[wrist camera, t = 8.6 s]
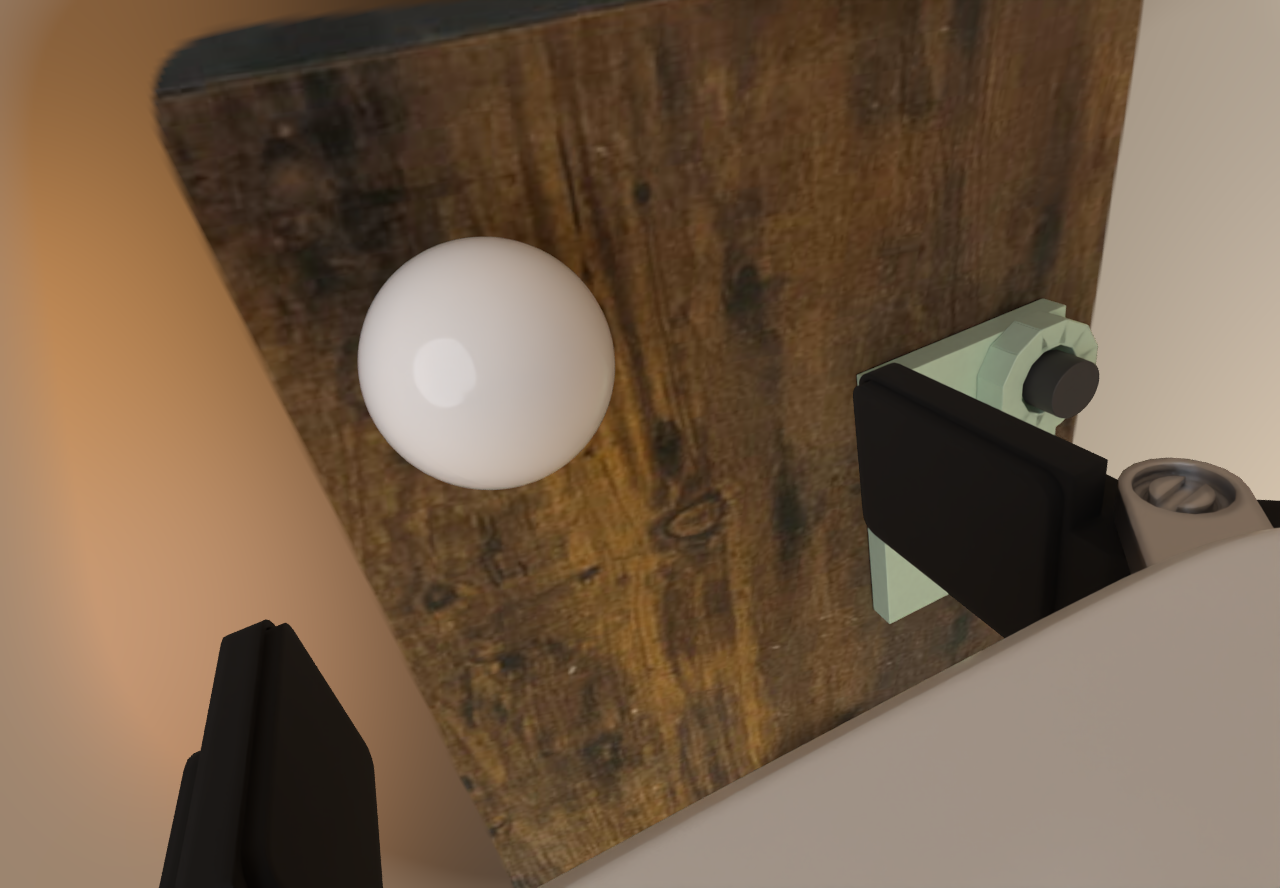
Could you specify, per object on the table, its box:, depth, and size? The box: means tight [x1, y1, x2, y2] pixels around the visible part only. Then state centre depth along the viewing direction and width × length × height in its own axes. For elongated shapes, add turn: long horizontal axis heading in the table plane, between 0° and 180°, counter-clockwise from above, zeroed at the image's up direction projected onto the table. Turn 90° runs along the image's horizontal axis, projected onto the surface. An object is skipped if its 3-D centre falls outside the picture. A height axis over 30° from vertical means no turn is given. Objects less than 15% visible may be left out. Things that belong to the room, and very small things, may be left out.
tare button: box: [1022, 350, 1099, 418], centre depth 34 cm, size 3×3×2 cm
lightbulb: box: [358, 236, 615, 490], centre depth 21 cm, size 6×6×11 cm
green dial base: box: [857, 299, 1098, 624], centre depth 37 cm, size 15×11×3 cm
